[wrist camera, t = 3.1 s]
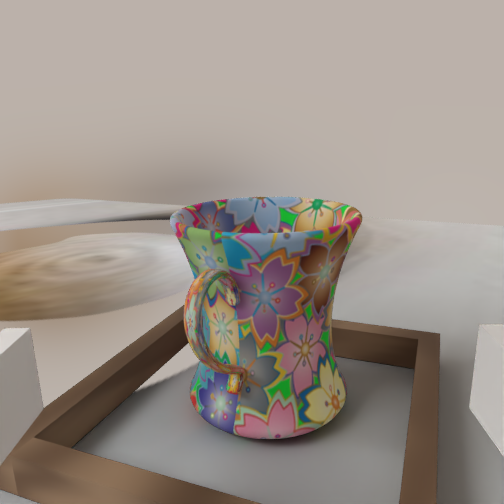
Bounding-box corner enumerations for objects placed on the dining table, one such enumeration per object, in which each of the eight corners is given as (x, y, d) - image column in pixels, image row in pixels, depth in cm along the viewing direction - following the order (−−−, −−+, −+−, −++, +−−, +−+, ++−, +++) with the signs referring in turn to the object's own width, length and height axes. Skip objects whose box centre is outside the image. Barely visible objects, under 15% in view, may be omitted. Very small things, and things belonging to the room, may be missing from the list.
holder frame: (-4, 488, 20) (-12, 448, 20) (191, 324, 36) (190, 300, 35) (428, 641, 14) (434, 589, 13) (437, 362, 29) (439, 333, 29)
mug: (230, 348, 32) (224, 193, 29) (369, 376, 28) (378, 200, 25) (112, 464, 21) (84, 239, 19) (307, 532, 18) (311, 264, 15)
